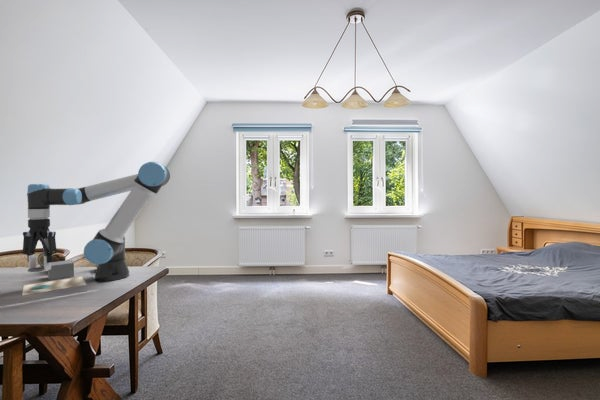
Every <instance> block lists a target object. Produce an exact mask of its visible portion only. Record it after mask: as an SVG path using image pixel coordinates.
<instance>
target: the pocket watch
mask: <svg viewBox="0 0 600 400" xmlns="http://www.w3.org/2000/svg"><path fill="white" fill-rule="evenodd" d="M41 251H42V252H41V253H39V254H38V255H37V258H36V262H37V263H38V265H39V266H38V267H37V266H36V268H31V269H29V268H28V269H27V272H29V273H38V272H44V255H46V254H45V251H44V248H43V247H42V248H41ZM51 263H52V262H51Z"/></svg>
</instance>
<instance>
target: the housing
mask: <svg viewBox="0 0 600 400" xmlns="http://www.w3.org/2000/svg"><path fill="white" fill-rule="evenodd" d="M47 278H48V281H56V280H63V279H70V278H75V263H74V261H73V259H68V260H65V261H59V262H52V263H51V269H50V270H47Z"/></svg>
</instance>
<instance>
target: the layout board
mask: <svg viewBox="0 0 600 400" xmlns="http://www.w3.org/2000/svg"><path fill="white" fill-rule="evenodd" d="M81 286H87V282H86V281H85V279H84V278H83V276H77V277H69V278H62V279H56V280H49V281H44V282H39V283H38V282H37V283H32V284H30V283H29V284H24V285H23V288H22V293H21V295H22V296H28V295H34V294H39V293H46V292H51V291H58V290H64V289H69V288H76V287H81Z"/></svg>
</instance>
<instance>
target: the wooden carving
mask: <svg viewBox="0 0 600 400" xmlns="http://www.w3.org/2000/svg"><path fill="white" fill-rule="evenodd" d="M59 261H66V256H65V255H64V254H63V253H55V254H53V255H52V262H59Z"/></svg>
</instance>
